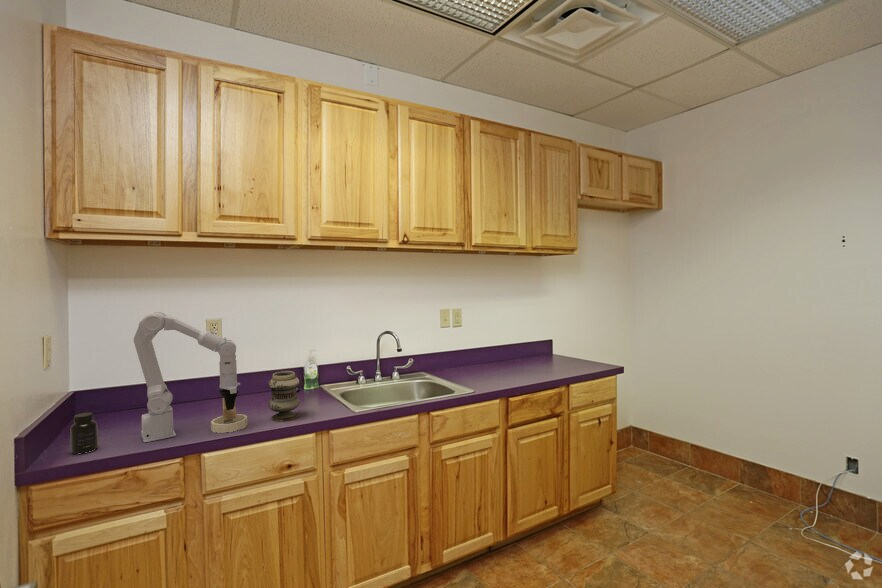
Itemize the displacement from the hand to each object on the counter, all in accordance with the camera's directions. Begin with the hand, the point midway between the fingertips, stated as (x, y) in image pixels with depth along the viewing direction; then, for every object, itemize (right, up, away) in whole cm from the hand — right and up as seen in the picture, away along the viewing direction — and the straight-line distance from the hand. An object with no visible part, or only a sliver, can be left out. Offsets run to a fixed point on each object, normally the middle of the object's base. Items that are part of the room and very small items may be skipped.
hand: (229, 408), depth 160 cm
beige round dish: (0, -7, 0) cm, 7 cm away
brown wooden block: (0, -4, 0) cm, 4 cm away
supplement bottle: (-37, -8, -21) cm, 43 cm away
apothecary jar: (+17, -7, +11) cm, 21 cm away
